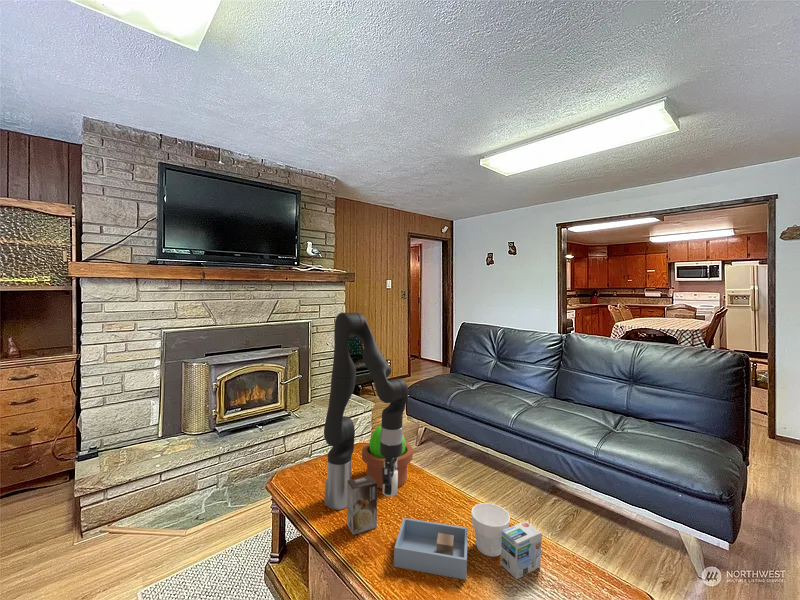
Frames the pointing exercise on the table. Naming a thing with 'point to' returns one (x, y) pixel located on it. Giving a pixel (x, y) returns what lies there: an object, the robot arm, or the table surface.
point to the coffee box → (361, 504)
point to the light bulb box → (521, 549)
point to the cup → (489, 527)
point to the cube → (445, 544)
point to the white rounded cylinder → (393, 484)
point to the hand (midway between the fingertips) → (389, 489)
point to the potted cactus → (377, 460)
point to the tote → (430, 548)
